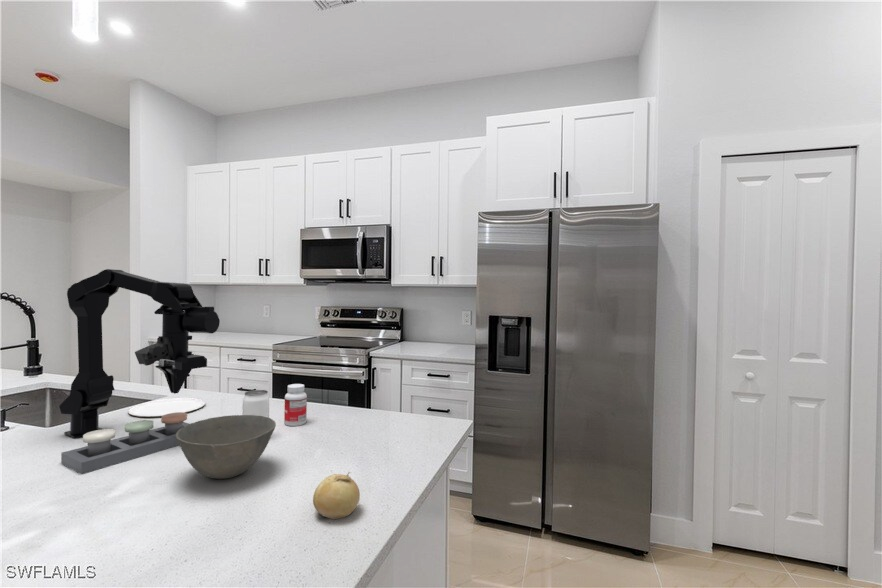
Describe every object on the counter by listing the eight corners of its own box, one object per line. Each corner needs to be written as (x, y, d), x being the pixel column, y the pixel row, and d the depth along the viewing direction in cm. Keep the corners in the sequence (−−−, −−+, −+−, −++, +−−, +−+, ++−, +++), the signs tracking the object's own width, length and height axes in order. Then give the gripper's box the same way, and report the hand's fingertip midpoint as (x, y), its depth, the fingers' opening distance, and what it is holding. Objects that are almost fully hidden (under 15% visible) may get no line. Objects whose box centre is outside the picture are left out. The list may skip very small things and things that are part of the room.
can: (258, 443, 107) (259, 396, 107) (236, 441, 108) (237, 394, 108) (273, 434, 113) (274, 390, 113) (252, 432, 114) (253, 388, 114)
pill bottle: (286, 420, 126) (287, 383, 126) (307, 419, 127) (308, 383, 127) (282, 427, 120) (282, 388, 120) (304, 426, 121) (305, 387, 121)
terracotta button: (156, 432, 107) (156, 416, 107) (179, 426, 112) (179, 411, 112) (168, 437, 104) (168, 420, 104) (191, 430, 109) (191, 414, 109)
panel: (61, 463, 92) (61, 452, 92) (183, 430, 115) (183, 421, 115) (81, 474, 87) (81, 462, 87) (204, 437, 110) (204, 428, 110)
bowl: (170, 504, 76) (170, 449, 76) (179, 465, 93) (180, 420, 93) (280, 484, 85) (280, 434, 85) (270, 451, 102) (271, 410, 101)
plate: (110, 417, 127) (110, 412, 127) (166, 399, 147) (166, 396, 147) (171, 421, 123) (171, 417, 123) (219, 403, 144) (219, 399, 144)
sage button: (120, 442, 100) (120, 424, 100) (146, 435, 105) (146, 418, 105) (131, 447, 97) (132, 429, 97) (158, 439, 102) (158, 422, 102)
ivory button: (78, 453, 93) (78, 434, 93) (108, 445, 98) (108, 427, 98) (89, 458, 90) (89, 439, 90) (119, 450, 95) (120, 432, 95)
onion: (315, 529, 70) (316, 486, 69) (310, 506, 77) (311, 467, 77) (363, 519, 73) (364, 478, 73) (354, 498, 80) (354, 461, 80)
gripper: (121, 332, 106) (120, 394, 106) (161, 337, 96) (160, 405, 96) (168, 329, 115) (167, 385, 115) (208, 333, 106) (207, 395, 106)
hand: (174, 392), depth 108 cm, fingers closed
